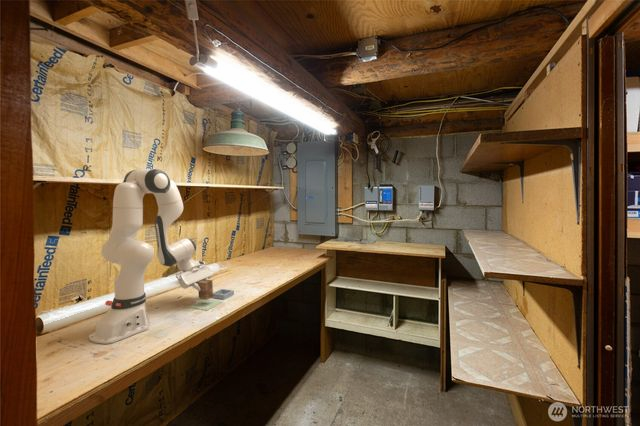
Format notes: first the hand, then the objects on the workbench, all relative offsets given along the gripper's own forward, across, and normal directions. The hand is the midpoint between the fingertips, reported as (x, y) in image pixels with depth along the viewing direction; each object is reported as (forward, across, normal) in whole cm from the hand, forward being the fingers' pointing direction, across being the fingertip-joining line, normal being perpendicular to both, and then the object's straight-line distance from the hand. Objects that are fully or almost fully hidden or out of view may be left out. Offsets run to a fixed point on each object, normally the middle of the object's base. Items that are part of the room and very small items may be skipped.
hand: (205, 288), depth 159 cm
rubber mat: (+6, 0, +6) cm, 9 cm away
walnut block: (+4, 0, +3) cm, 5 cm away
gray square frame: (+7, +14, +6) cm, 16 cm away
